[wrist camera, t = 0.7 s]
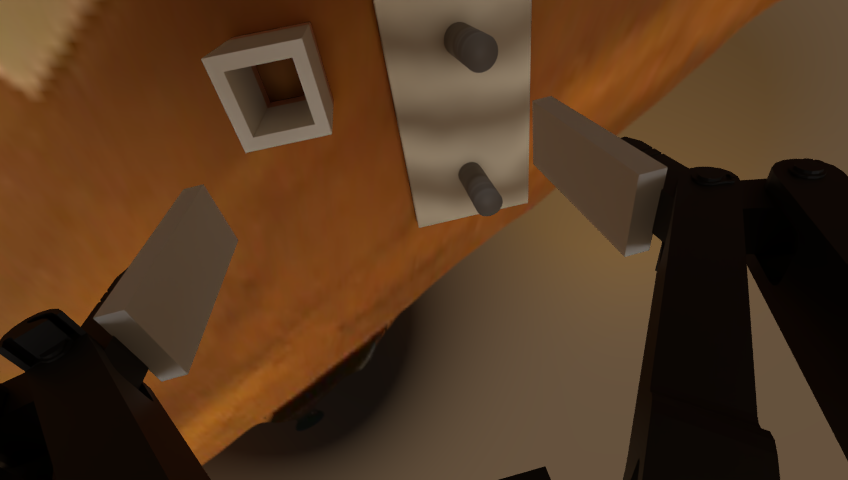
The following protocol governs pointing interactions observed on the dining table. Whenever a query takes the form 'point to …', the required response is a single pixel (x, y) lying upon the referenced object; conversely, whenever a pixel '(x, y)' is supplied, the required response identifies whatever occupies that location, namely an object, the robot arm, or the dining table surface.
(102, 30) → the dining table surface
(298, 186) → the dining table surface
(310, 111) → the sleeve
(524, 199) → the pin board
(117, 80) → the dining table surface
